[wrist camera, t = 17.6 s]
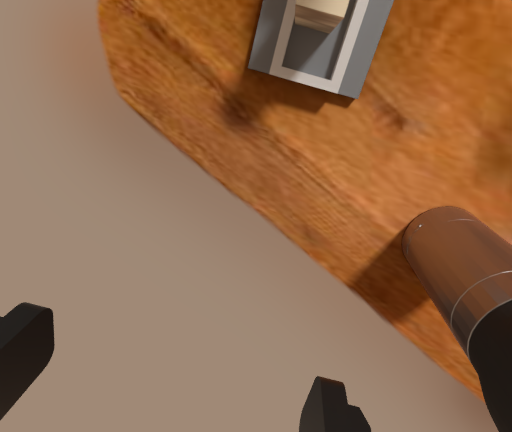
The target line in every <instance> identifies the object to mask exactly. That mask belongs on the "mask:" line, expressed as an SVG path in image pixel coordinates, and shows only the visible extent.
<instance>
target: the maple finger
mask: <svg viewBox="0 0 512 432" xmlns="http://www.w3.org/2000/svg"><path fill="white" fill-rule="evenodd" d="M348 4H349V0H296V5H295V24H296V25H300V26H303V27H307V28H310V29H314V30H318V31H321V32H325V33H328V34H330V33H331V32H332V31H333V30H334V28H335V27H336V26H337V25H338V24H339V23H340V22H341V21H342V19H343V18H344V16H345V13H346V10H347V7H348Z"/></svg>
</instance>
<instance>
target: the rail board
mask: <svg viewBox="0 0 512 432" xmlns="http://www.w3.org/2000/svg"><path fill="white" fill-rule="evenodd" d="M393 1H394V0H349V4H348V7H347V10H346V13H345V16H344V18H343V19H342V21H341V22H340V23H339V24H338V25H337V26H336V27H335V28H334V30H333V31H332V32H331V33H330V34H328V33H325V32H321V31H318V30H314V29H310V28H307V27H303V26H300V25H296V24H295V5H296V0H263V4H262V8H261V12H260V17H259V21H258V26H257V30H256V34H255V39H254V43H253V48H252V52H251V56H250V61H249V65H248V68H250V69H253V70H257V71H260V72H264V73H267V74H270V75H274V76H277V77H281V78H284V79H288V80H291V81H295V82H298V83H302V84H305V85H309V86H312V87H316V88H319V89H323V90H326V91H330V92H333V93H337V94H341V95H345V96H348V97H352V98H355V99H358V97H359V94H360V92H361V89H362V86H363V83H364V81H365V78H366V75H367V72H368V70H369V67H370V64H371V61H372V59H373V56H374V53H375V50H376V48H377V45H378V42H379V39H380V37H381V34H382V31H383V29H384V26H385V23H386V20H387V18H388V15H389V12H390V9H391V7H392V4H393Z"/></svg>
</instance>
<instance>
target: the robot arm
mask: <svg viewBox="0 0 512 432" xmlns="http://www.w3.org/2000/svg"><path fill="white" fill-rule="evenodd" d="M402 248H403V253H404V255H405V258H406V259H407V261H408V262H409V264H410V266H411V267H412V269H413V270H414V272H415V274H416V275H417V277H418V279H419V280H420V282H421V284H422V285H423V287H424V288H425V290H426V292H427V293H428V295H429V296H430V298H431V300H432V301H433V303H434V304H435V306H436V308H437V309H438V311H439V312H440V314H441V316H442V317H443V319H444V320H445V322H446V324H447V325H448V327H449V328H450V330H451V332H452V333H453V335H454V336H455V338H456V340H457V341H458V343H459V344H460V346H461V347H462V349H463V351H464V352H465V354H466V355H467V357H468V359H469V360H470V362H471V363H472V365H473V367H474V368H475V370H476V372H477V373H478V376H479V380H480V384H481V388H482V392H483V396H484V399H485V402H486V405H487V408H488V410H489V412H490V415H491V417H492V419H493V421H494V423H495V425H496V427H497V429H498V431H499V432H512V245H510V244H509V243H508V242H507V241H505V240H504V239H503V238H501V237H500V236H499V235H498V234H496V233H495V232H494V231H492V230H491V229H490V228H489V227H488V226H486V225H485V224H484V223H482V222H481V221H480V220H478V219H477V218H476V217H475V216H473V215H472V214H471V213H469V212H467V211H465V210H464V209H460V208H457V207H449V206H446V207H438V208H434V209H431V210H428V211H426V212H424V213H422V214H421V215H419V216H418V217H417V218H415V219H414V220H413V221H412V222H411V223H410V225H409V226H408V228H407V229H406V231H405V233H404V236H403V241H402ZM53 351H54V325H53V312H52V310H51V309H50V308H46V307H41V306H38V305H34V304H30V303H26V302H25V303H21V304H19V305H18V306H16V307H15V308H14V309H13V310H11V311H10V312H9V313H8V314H7V315H5V316H4V317H0V420H1V419H2V418H3V417H4V415H5V414H6V413H7V412H8V411H9V410H10V408H11V407H12V406H13V405H14V404H15V403H16V401H17V400H18V399H19V398H20V397H21V396H22V394H23V393H24V392H25V391H26V390H27V388H28V387H29V386H30V385H31V384H32V383H33V381H34V380H35V379H36V378H37V377H38V376H39V374H40V373H41V372H42V371H43V369H44V368H45V367H46V366H47V364H48V362H49V361H50V359H51V357H52V354H53ZM299 432H371V428H370V426H369V424H368V422H367V420H366V418H365V417H364V415H363V413H362V411H361V410H360V408H359V407H356V406H352V405H348V403H347V396H346V391H345V386H344V384H343V383H342V382H339V381H335V380H331V379H327V378H323V377H319V376H317V377H316V378H315V380H314V383H313V385H312V388H311V390H310V393H309V395H308V398H307V400H306V402H305V405H304V407H303V410H302V414H301V419H300V426H299Z"/></svg>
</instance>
